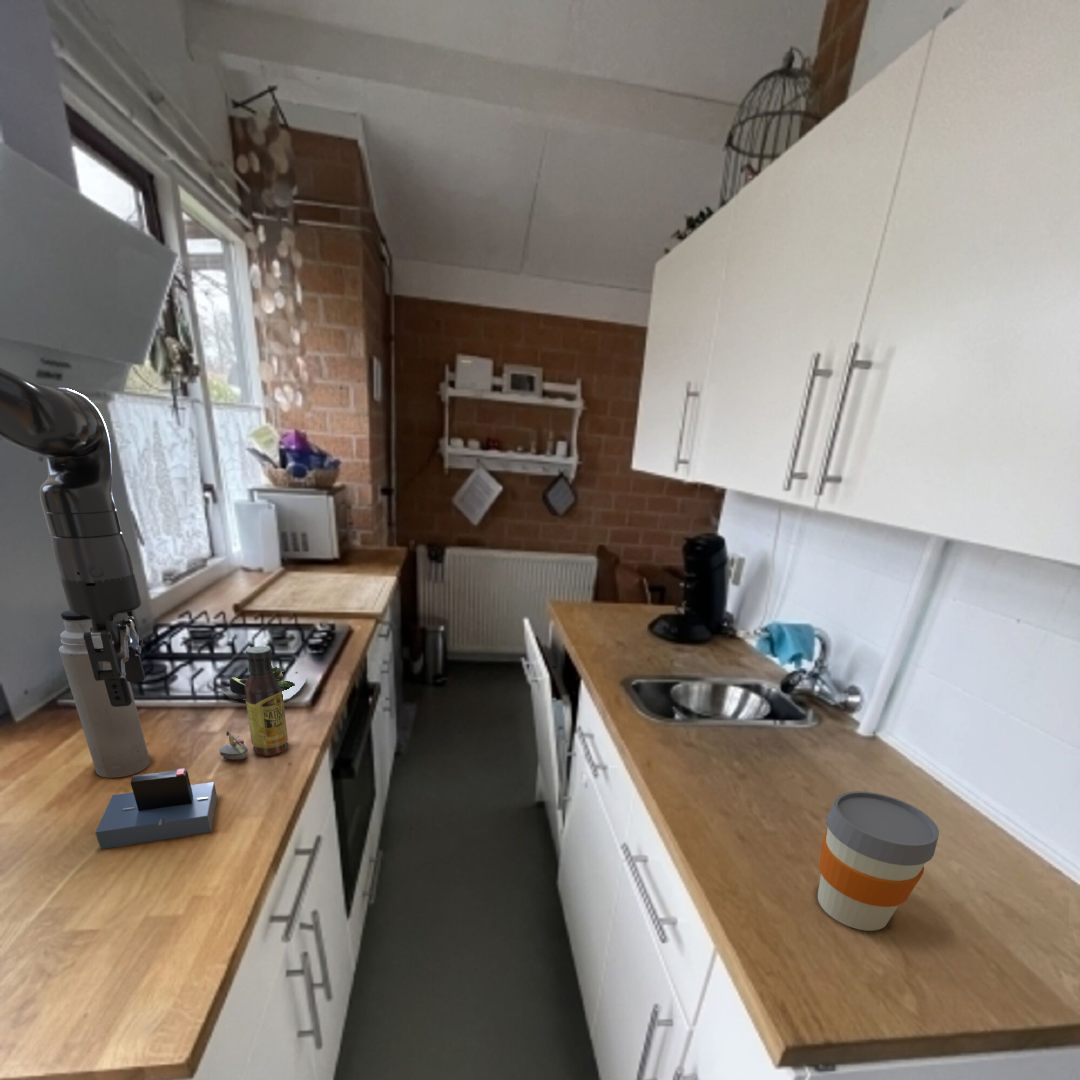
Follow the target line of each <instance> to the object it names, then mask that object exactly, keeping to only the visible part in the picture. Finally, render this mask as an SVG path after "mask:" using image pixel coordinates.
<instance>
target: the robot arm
mask: <svg viewBox="0 0 1080 1080" xmlns="http://www.w3.org/2000/svg"><path fill="white" fill-rule="evenodd" d="M91 401H92V400H89V398H88V397H87V396H85V395H84V394H81V393H79V392H77V391H75V390H72V389H69V388H65V387H57V386H50V385H49V386H48V385H42V384H40V383H37V382H34V381H32V380H29V379H27V378H25V377H22V376H20V375H18V374H16V373H15V372H12V371H9V370H7V369H6V368H3V367H1V366H0V438H1V439H3V440H4V441H7V442H8V443H10V444H12V445H14V446H16V447H18V448H21V449H23V450H26V451H28V452H31V453H33V454H36V455H40V456H43V457H45V459H46V466H47V474H48V475H47V479H46V480H45V481H44V482H43V483H42V484H41V485H40V486H39V492H38V493H39V500H40V504H41V507H42V508H41V509H42V512H43V515H44V518H45V522H46V526H47V529H48V533H49V534H50V540H51V546H52V547H51V548H52V554H53V558H54V563H55V565H56V568H57V572H58V575H59V579H60V582H61V585H62V588H63V592H64V595H65V599H66V602H67V605H68V610H71V611H72V612H73V613H75V614H78V615H86V616H88V617H90V618H91V620H92V621H91V623H92V627H90V632H85V633H84V636H83V638H84V640H85V644H86V647H87V651H88V655H89V659H90V662H91V666H92V670H93V674H94V678H95V680H96V681H100V680H104V682H105V686H106V689H107V693H108V696H109V699H110V703H111V705H112V706H114V707H120V706H129V705H130V704H131V702H132V698H131V694H130V690H129V687H128V683H127V681H128V682H130V683H138V682H143V681H144V680H145V678H146V674H145V670H144V666H143V662H142V658H141V654H142V647H141V646H143V643H144V641H143V638H142V635H141V631H140V627H139V624H138V619H137V616H136V612H135V610H137V609H138V608H140V607H141V605H142V599H141V595H140V591H139V586H138V583H137V578H136V574H135V571H134V567H133V563H132V562H133V561H132V558H131V554H130V551H129V548H128V545H127V543H126V540H125V538H124V534H123V532H122V527H121V524H120V523H121V522H120V518H119V515H118V511H117V507H116V503H115V501H114V497H113V488H112V487H113V470H112V468H113V467H112V451H111V450H112V449H111V442H110V437H109V432H108V429H107V425H106V423H105V421H104V418H103V416H102V414H101V412H100V411H99V409H98V408H97V407H96V405H95V404H94V403H93V402H91ZM109 662H110V664H111V668H112V670H107V663H109Z"/></svg>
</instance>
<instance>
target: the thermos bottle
mask: <svg viewBox="0 0 1080 1080" xmlns="http://www.w3.org/2000/svg"><path fill="white" fill-rule="evenodd" d="M60 617H61V619H62V620H63V626H64V629H65V630H63V631H62V632H60V634H59V636H60V643H61V644H62V645H61V646H59V648H58V653H59V655H60V660H61V662H62V665H63V668H64V671H65V675H66V678H67V682H68V685H69V689H70V691H71V693H72V694H71V695H72V698H73V701H74V704H75V708H76V711H77V714H78V717H79V720H80V724H81V728H82V730H83V731H82V732H83V733H84V737H85V740H86V743H87V744H86V745H87V747H88V750H89V754H90V756H91V759H92V763H93V767H94V769H95V773H96V774H97V775H98V776H99V777H102V778H108V779H114V778H116V779H117V778H124V777H129V776H131V775H136V774H137V773H140V772H142V771H143V770H145V769H146V768H147V767H148V766H149V765H150V763H151V759H150V754H149V751H148V746H147V742H146V739H145V735H144V731H143V727H142V724H141V720H140V716H139V713H138V708H137V705H136V700H135V697H134V693H133V688H132V686H131V682H128V681H127V683H128V687H129V690H130V694H131V698H132V702H131V704H130V705H129V706H120V707H114V706H112V705H111V703H110V699H109V696H108V693H107V689H106V686H105V682H104V680H100V681H96V680H95V678H94V674H93V670H92V666H91V662H90V659H89V655H88V651H87V647H86V644H85V640H84V638H83V636H84V633H85V632H90V627H92V623H91V621H92V620H91V618H90V617H88V616H86V615H78V614H75V613H73V612H72V611H71V610H70V609H68V610H65V611H61V613H60ZM107 670H112V668H111V664H110V662H109V663H107Z"/></svg>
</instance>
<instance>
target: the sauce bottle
mask: <svg viewBox="0 0 1080 1080" xmlns="http://www.w3.org/2000/svg"><path fill="white" fill-rule="evenodd" d="M245 657H246V659H247V661H248V662H247V663H248V672H249V673H250V676H249V678H248V680H247V682H246V684H245V693H246V703H245V705H246V712H247V719H248V726H249V733H250V740H251V744H252V750H253V752H254V753H255V754H257V755H259V756H263V757H264V756H265V757H266V756H274V755H279V754H281V753H283V752H284V751H285V750H286V749H287V748H288V745H289V744H288V740H289V738H288V729H287V720H286V712H285V711H286V710H285V703H284V702H285V701H283V694H282V690H281V688H280V686H279V684H278V682H277V680H276V678H275V676H274V673H273V669H272V666H273V664H272V651H271V648H270V647H268V646H262V645H261V646H251V647H248V648H246V649H245Z"/></svg>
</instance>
